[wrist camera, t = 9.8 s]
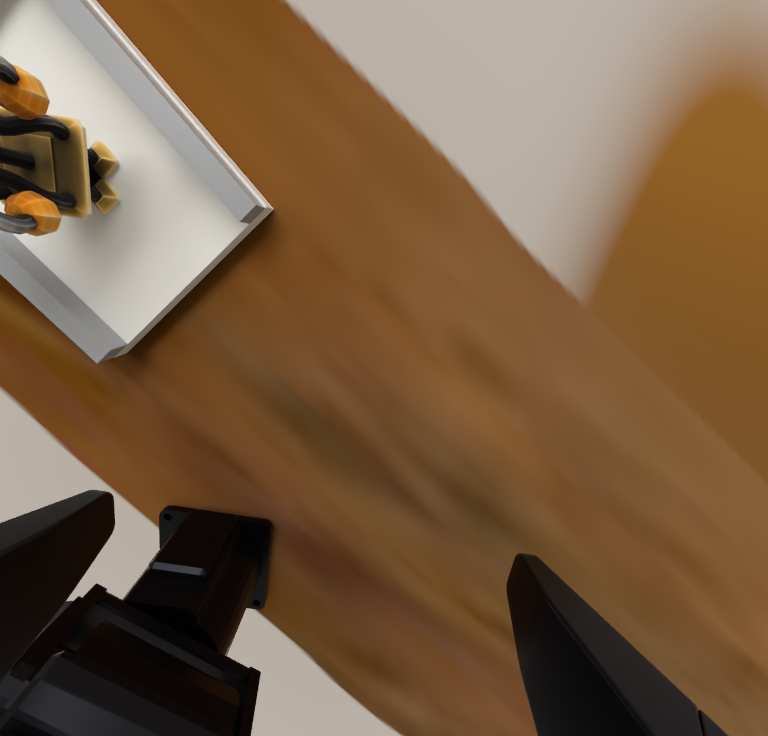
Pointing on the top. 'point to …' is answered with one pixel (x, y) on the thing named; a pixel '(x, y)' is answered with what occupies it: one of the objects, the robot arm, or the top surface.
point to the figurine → (46, 160)
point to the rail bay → (121, 183)
